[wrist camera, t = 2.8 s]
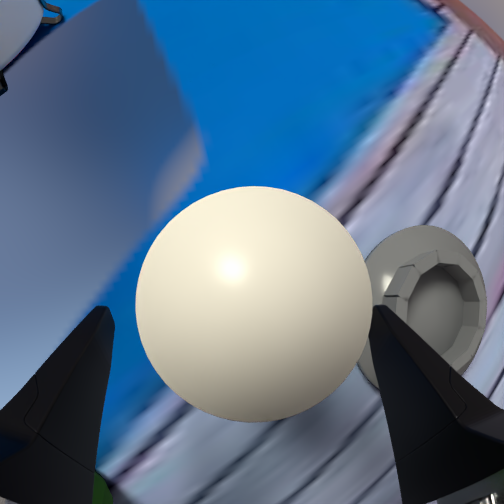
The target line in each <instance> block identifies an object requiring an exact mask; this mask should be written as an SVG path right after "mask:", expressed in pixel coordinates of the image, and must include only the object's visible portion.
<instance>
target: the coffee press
mask: <svg viewBox="0 0 504 504" xmlns="http://www.w3.org/2000/svg"><path fill="white" fill-rule="evenodd" d="M43 7H44V8H45V9H46V10H49V11H51V12H55V13H58V14H60V15H59V16H57V17H55V18H50V17H42V16H43ZM62 18H63V15H62V9H61V8H60V7H57V6H53V5H50V4H48V3H46V2H45V1H44V0H0V96H1V95H2V94H4V93H5V92H6V91H7V90H8V87H7V83H6V81H5V78H4V75H3V68H4V67H5V66H6V65H7V64H8V63H10V62H11V61H12V60H13V59H14V58H15V57H16V56H17V55H18V54H19V52H20V51H21V50H22V49H23V48H24V47H25V46H26V44H27V43H28V42H29V41H30V39H31V38H32V36H33V35H34V33H35V32H36V30H37V28H38V26H39V25H40V24H57V23H59V22H60V21H61V20H62Z"/></svg>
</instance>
